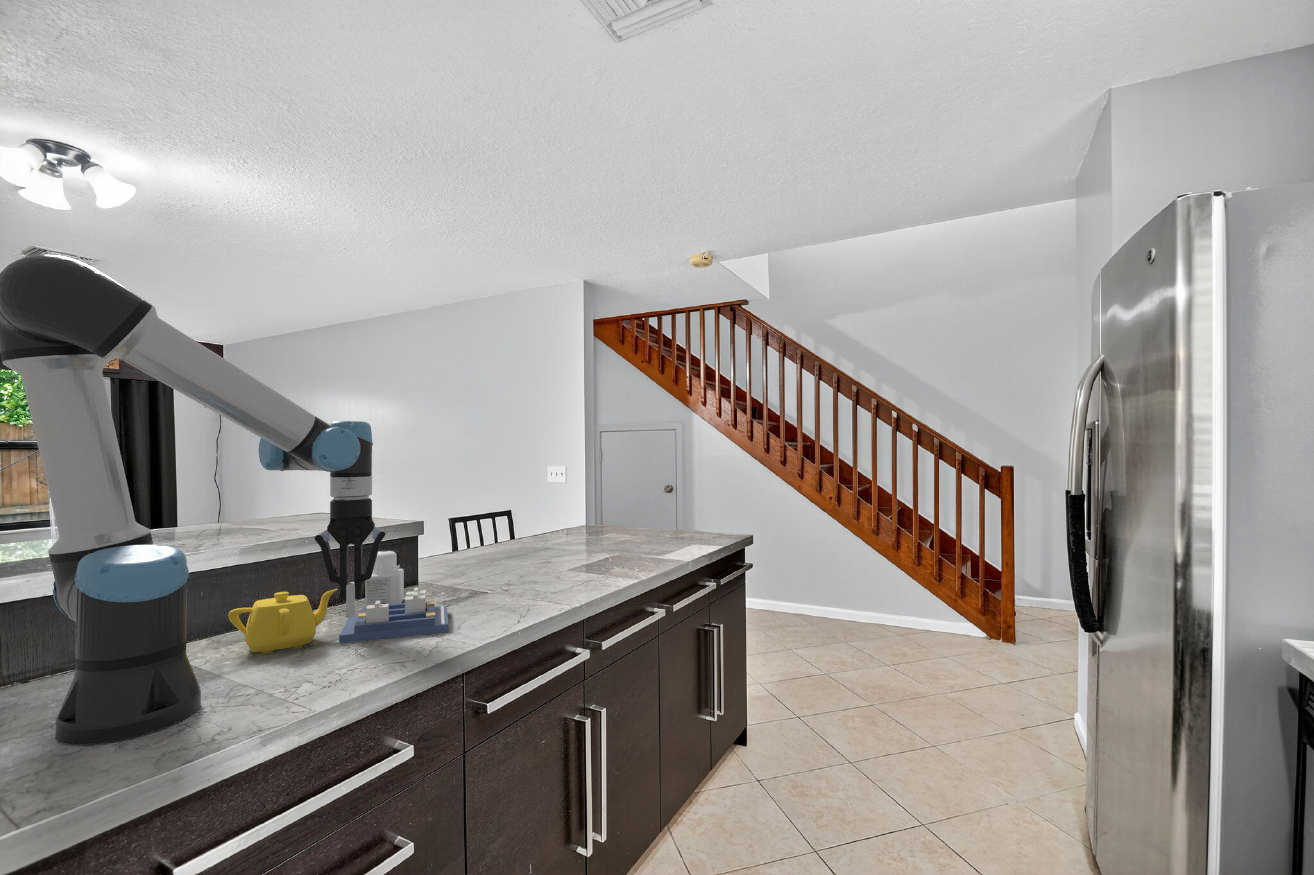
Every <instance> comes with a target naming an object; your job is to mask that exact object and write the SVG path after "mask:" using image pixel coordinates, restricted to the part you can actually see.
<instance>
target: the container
mask: <svg viewBox="0 0 1314 875" xmlns="http://www.w3.org/2000/svg"><path fill="white" fill-rule="evenodd" d="M400 553H401V552H399V551H398V550H396V549H383V550H381V549H380V550H378V554H377V558H376V562H375V566H374V569H373V573H372V576H371V578H370V579H368V580H365V581H364V582H365V584H364V585H365V586H364V587H365V588H364V589H365V599H364V600H365V601H364V602H365V603H364V604H365V606H368V605H375V602H376V601H380V604H399V603H403V600H404V599H405V597H404V596H405V593H404V592H405V591H404V590H405V588H404V587H405V583H404V582H405V581H404V580H405V576H404V575H405V574H404V573H405V570H404V568H400V567H401V566H400V565H401V564H400V563H401V562H400V561H401V557H400V556H401V554H400ZM365 606H364V607H365Z"/></svg>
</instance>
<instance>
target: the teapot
mask: <svg viewBox="0 0 1314 875" xmlns="http://www.w3.org/2000/svg"><path fill="white" fill-rule="evenodd" d="M337 590H338V588H335V589H331V590H328V591H326V592H324V593H323V594H322V596H321V599H320V603H319V606H318V608H317V610H315V611H313V609H312V605H311V604H310V601H309V599H308V597H307V596H306V595H304V594H296V595H295V594H294V595H289V594H290V592H288V591H280V592H275V593H274V594H273V596H274V597H272V598H264V599H258V600H256V601H255V602H253V604H252V607H238V608H234V609H231V610H230V611H229V612H228V614H227V616H228V617H227V618H228V619H229V622H230V623H231V624H232V625H233V626H234V627H235V628H236V629H238V630H239V631H240V632H241V633H243V634H244V637H245V638H244V640H245V643H246V645H247V647H248V649H249V650H250V652H252V653H260V654H261V655H268V654H271V653H273V652H274V651H278V650H283V649H284V650H285V649H289V648H290V649H293V650H294V649H295V650H296V649H301V648H303V646H304V645H307V644H310V643H312V642H313V640H314V638H315V635H316V632H317V629H316V627H318V626H319V625H320V624H321V623H322V622H323V621H324V619H325V618H326V615H327V611H328V603H329V600H330V598H331V596H332V595H333V594H334V593H335V592H336V591H337ZM245 613H250V614H249V616H248V618H247V623H246V627H245V625H244V624H243V622H242V620H241V619H240V615H241V614H245Z"/></svg>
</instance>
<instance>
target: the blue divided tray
mask: <svg viewBox="0 0 1314 875" xmlns="http://www.w3.org/2000/svg"><path fill="white" fill-rule="evenodd" d="M435 605H436V601H435V600H426V606H425V612H417V613H406V614H405V602H402V603H399V604H389V621H386V622H376V623H366V607H367V606H363V607H362V608H361V611H360V612H359V613H356V615H355V617H353V618H347V620H346V622H345V624H344V626H343V628H342V630H341V631H340V632H339V638H338V644H345V643H346V644H347V643H355V642H363V641H371V640H382V639H389V638H390V639H392V638H400V637H401V638H402V637H410V636H419V635H429V634H437V633H447V632H449V619H448V617H449V616H448V606H447V605H442V606H441V605H440V606H435Z"/></svg>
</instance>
